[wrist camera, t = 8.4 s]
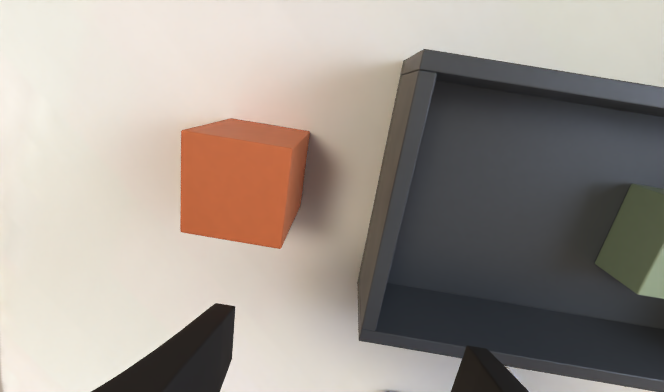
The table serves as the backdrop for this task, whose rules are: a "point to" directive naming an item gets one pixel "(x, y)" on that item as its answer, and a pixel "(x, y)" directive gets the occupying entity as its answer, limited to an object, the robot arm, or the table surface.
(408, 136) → the tub
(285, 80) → the table surface
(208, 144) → the terracotta block
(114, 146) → the table surface
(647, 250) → the sage block
